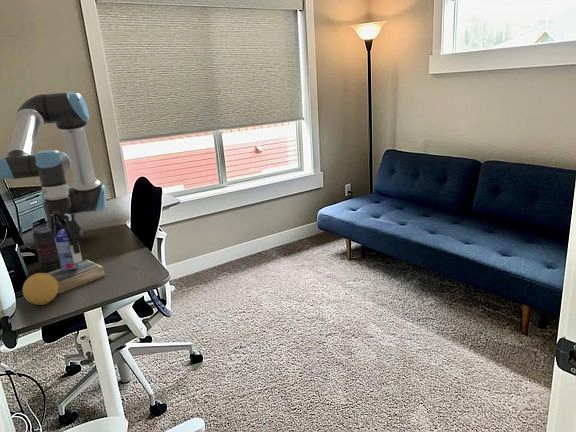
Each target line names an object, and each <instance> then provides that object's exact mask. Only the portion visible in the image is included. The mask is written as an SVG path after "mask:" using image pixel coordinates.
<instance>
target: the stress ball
mask: <svg viewBox="0 0 576 432" xmlns="http://www.w3.org/2000/svg"><path fill="white" fill-rule="evenodd" d="M48 273H49V272H36V273H33V274H32V275H30V276H29V277H28V278H27V279H26V280H25V281H24V283H23V286H22V294H23V297H24V298H25V300H27V302H29V303H30V304H33V305H40V306H44V305H48V304H49V303H50V302H51V301H53V300H54V299H55V298H56V297H57V294H58V293H59V292H58V286H59V283H58V281H57V280H56V279H55V278H54V277H53V276H52V275H51V274H48Z"/></svg>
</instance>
